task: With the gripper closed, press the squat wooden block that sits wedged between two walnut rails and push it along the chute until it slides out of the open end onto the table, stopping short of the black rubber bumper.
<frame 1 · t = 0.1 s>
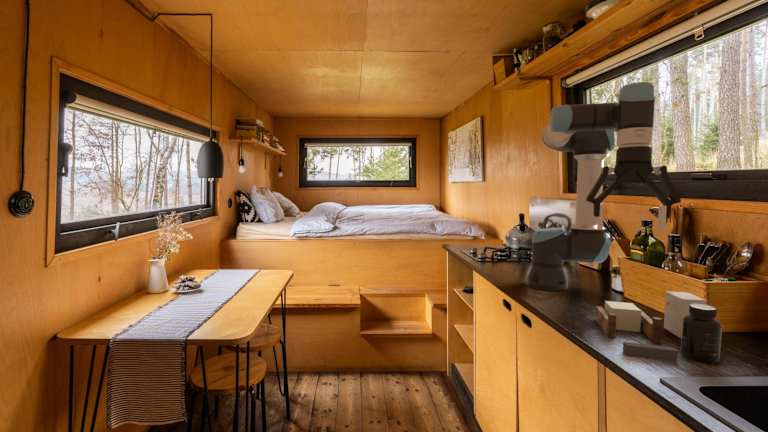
hand: (629, 230, 94), 28 cm above the worktop, tool pointing down, fingers open, 13 cm apart
small box: (683, 334, 98), on the worktop
bumper: (649, 356, 84), on the worktop
block: (621, 326, 104), on the worktop
chute: (625, 330, 101), on the worktop
supplement bottle: (699, 358, 84), on the worktop
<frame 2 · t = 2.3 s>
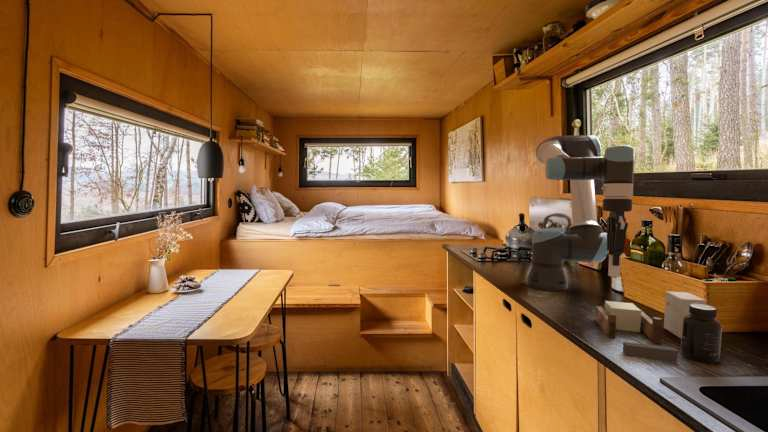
hand: (613, 275, 112), 12 cm above the worktop, tool pointing down, fingers closed
nothing on the worktop moved.
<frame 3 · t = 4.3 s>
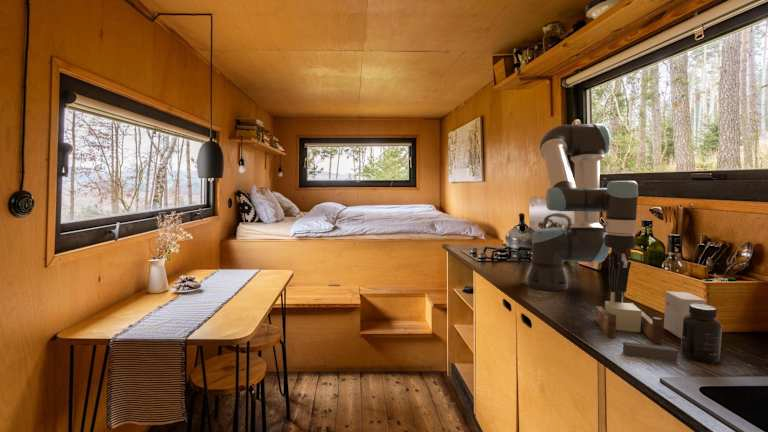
hand: (616, 313, 109), 2 cm above the worktop, tool pointing down, fingers closed
nothing on the worktop moved.
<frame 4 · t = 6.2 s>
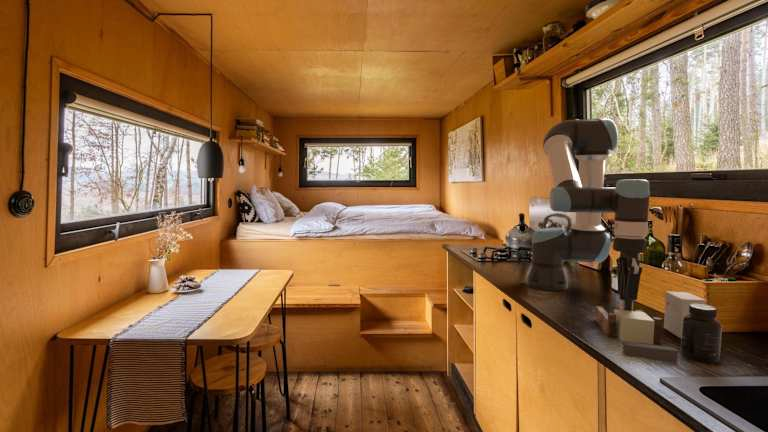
hand: (625, 322, 101), 2 cm above the worktop, tool pointing down, fingers closed
block: (632, 337, 96), on the worktop, touching gripper
everything else where it was.
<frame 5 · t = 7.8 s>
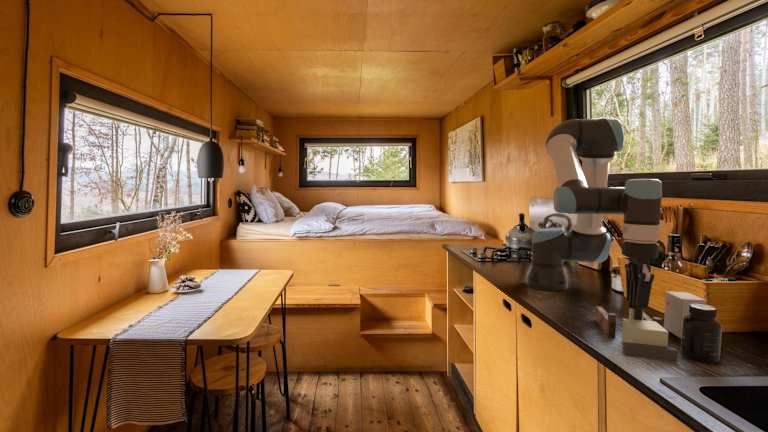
hand: (635, 332, 94), 2 cm above the worktop, tool pointing down, fingers closed
block: (643, 349, 89), on the worktop, touching bumper, gripper
everything else where it was.
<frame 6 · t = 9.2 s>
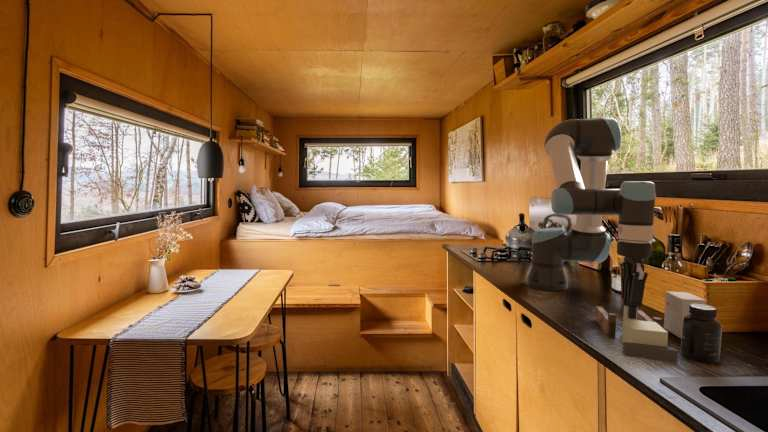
hand: (629, 329, 97), 2 cm above the worktop, tool pointing down, fingers closed
block: (643, 349, 89), on the worktop
everything else where it was.
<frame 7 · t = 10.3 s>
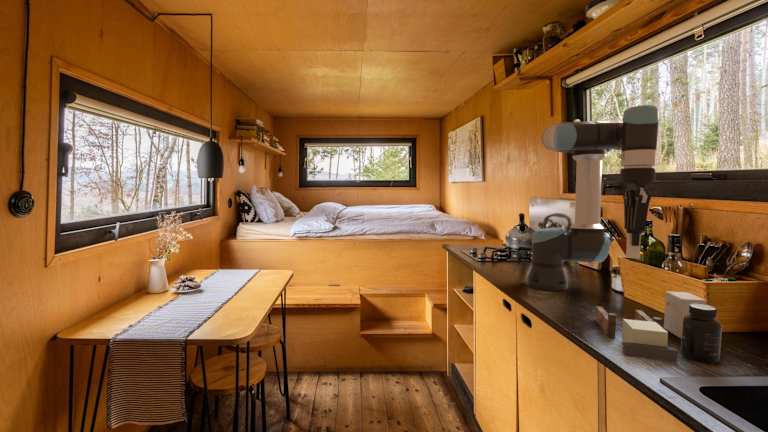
hand: (632, 257, 97), 21 cm above the worktop, tool pointing down, fingers closed
nothing on the worktop moved.
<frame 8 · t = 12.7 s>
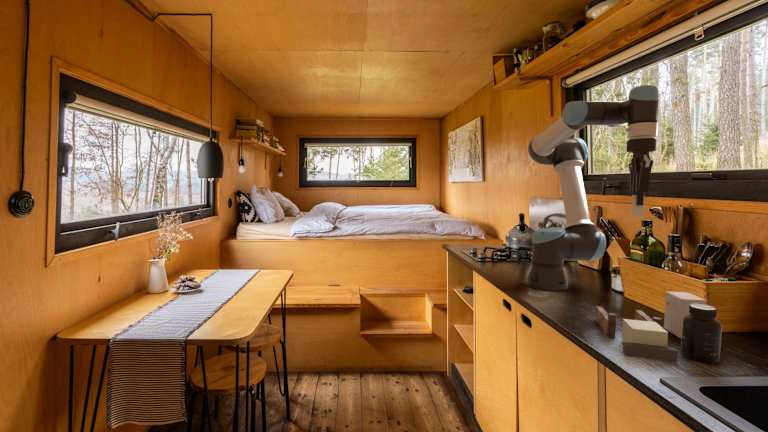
hand: (637, 216, 114), 30 cm above the worktop, tool pointing down, fingers closed
nothing on the worktop moved.
at the end: block inside the target area (0.2 cm from its centre), on the worktop; block tilted 0°; block moved 16.0 cm from its start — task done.
